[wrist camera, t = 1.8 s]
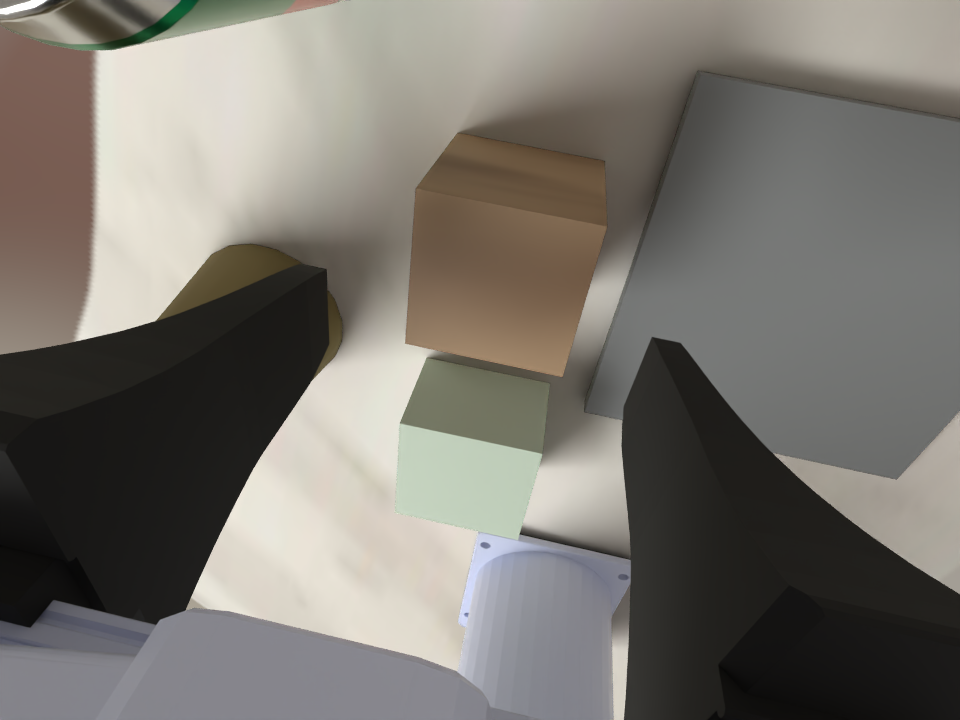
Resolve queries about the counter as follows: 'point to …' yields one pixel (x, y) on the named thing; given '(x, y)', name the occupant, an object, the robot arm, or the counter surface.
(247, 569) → the counter surface
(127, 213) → the counter surface
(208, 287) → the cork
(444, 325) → the walnut block
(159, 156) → the counter surface
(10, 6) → the soda can
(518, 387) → the sage block
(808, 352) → the mat
